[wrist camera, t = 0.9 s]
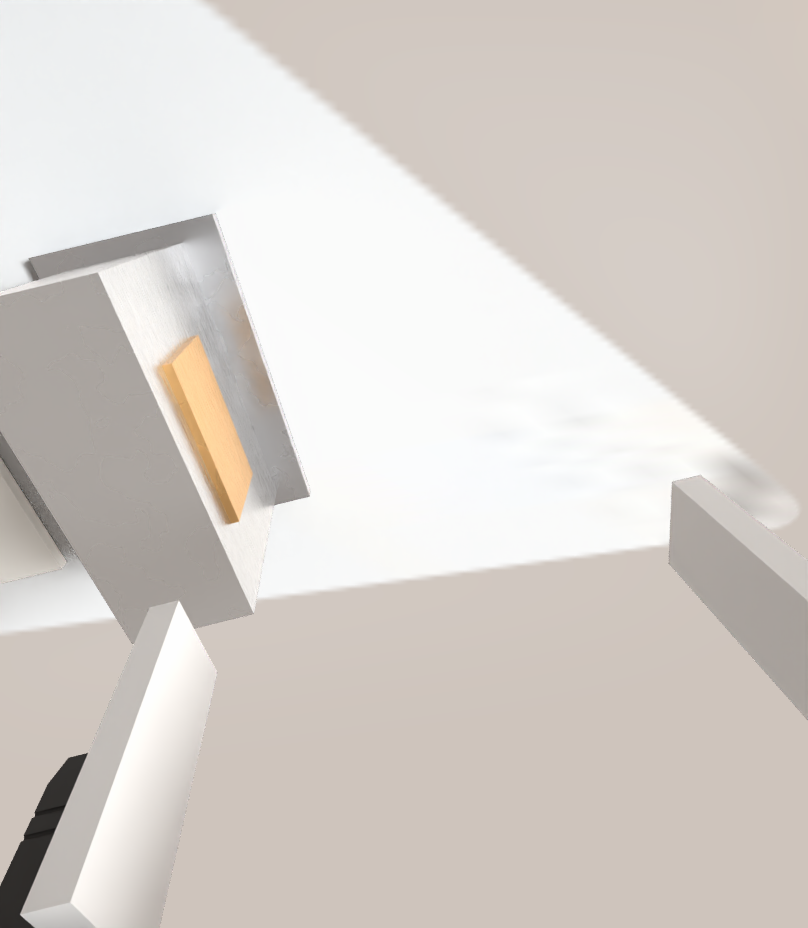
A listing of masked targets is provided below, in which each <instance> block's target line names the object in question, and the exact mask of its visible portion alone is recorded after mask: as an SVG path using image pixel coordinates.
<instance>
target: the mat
mask: <svg viewBox="0 0 808 928" xmlns="http://www.w3.org/2000/svg"><path fill="white" fill-rule="evenodd" d="M66 562H67V561H66V560H65V558H64V556H63V555H62V553H61V552H60V550H59V549H58V547H57V545H56V544H55V542H54V541H53V539H52V538H51V536H50V534H49V533H48V531H47V530H46V528H45V527H44V525H43V523H42V522H41V520H40V519H39V517H38V516H37V514H36V512H35V511H34V509H33V508H32V506H31V505H30V503H29V501H28V500H27V498H26V497H25V495H24V494H23V492H22V490H21V489H20V487H19V486H18V484H17V483H16V481H15V479H14V478H13V476H12V475H11V473H10V472H9V470H8V468H7V467H6V465H5V464H4V462H3V460H2V459H1V457H0V584H2V583H6V582H11V581H15V580H19V579H23V578H27V577H31V576H35V575H39V574H43V573H47V572H51V571H55V570H59V569H62V568H63V567H64V565H65V564H66Z"/></svg>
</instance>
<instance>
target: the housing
mask: <svg viewBox="0 0 808 928" xmlns="http://www.w3.org/2000/svg"><path fill="white" fill-rule="evenodd" d="M29 260H30V262H31V264H32V266H33V268H34V270H35V272H36V274H37V276H38V278H39V280H36V281H33V282H30V283H26V284H23V285H20V286H17V287H13V288H10V289H7V290H3V291H0V432H1V433H2V435H3V437H4V438H5V440H6V441H7V443H8V445H9V446H10V448H11V449H12V451H13V453H14V454H15V456H16V458H17V459H18V461H19V462H20V464H21V466H22V467H23V469H24V470H25V472H26V474H27V475H28V477H29V478H30V480H31V482H32V483H33V485H34V487H35V488H36V490H37V491H38V493H39V495H40V496H41V498H42V499H43V501H44V503H45V504H46V506H47V508H48V509H49V511H50V512H51V514H52V516H53V517H54V519H55V520H56V522H57V524H58V525H59V527H60V529H61V530H62V532H63V533H64V535H65V537H66V538H67V540H68V541H69V543H70V545H71V546H72V548H73V549H74V551H75V553H76V554H77V556H78V558H79V559H80V561H81V562H82V564H83V566H84V567H85V569H86V570H87V572H88V574H89V575H90V577H91V579H92V580H93V582H94V583H95V585H96V587H97V588H98V590H99V591H100V593H101V595H102V596H103V598H104V599H105V601H106V603H107V604H108V606H109V608H110V609H111V611H112V612H113V614H114V616H115V617H116V619H117V620H118V622H119V624H120V625H121V627H122V629H123V630H124V632H125V633H126V635H127V637H128V638H129V640H130V641H131V643H132V644H134V643H135V641H136V638H137V636H138V634H139V631H140V629H141V627H142V624H143V622H144V620H145V617H146V615H147V612H148V610H149V608H150V607H153V606H157V605H161V604H166V603H170V602H174V601H178V600H179V602H180V604H181V605H182V607H183V609H184V611H185V613H186V615H187V617H188V618H189V620H190V622H191V624H192V626H193V628H194V629H195V628H198V627H202V626H207V625H211V624H215V623H219V622H223V621H227V620H231V619H235V618H239V617H243V616H247V615H251V614H254V610H255V605H256V600H257V594H258V589H259V584H260V578H261V573H262V567H263V562H264V557H265V551H266V546H267V541H268V535H269V530H270V524H271V519H272V514H273V508H274V505H277V504H281V503H285V502H289V501H293V500H297V499H301V498H305V497H309V496H310V487H309V484H308V481H307V478H306V475H305V473H304V470H303V467H302V464H301V461H300V458H299V455H298V452H297V449H296V446H295V443H294V440H293V438H292V435H291V432H290V429H289V426H288V423H287V420H286V417H285V414H284V411H283V408H282V405H281V402H280V400H279V397H278V394H277V391H276V388H275V385H274V382H273V379H272V376H271V373H270V370H269V367H268V364H267V362H266V359H265V356H264V353H263V350H262V347H261V344H260V341H259V338H258V335H257V332H256V329H255V326H254V324H253V321H252V318H251V315H250V312H249V309H248V306H247V303H246V300H245V297H244V294H243V291H242V289H241V286H240V283H239V280H238V277H237V274H236V271H235V268H234V265H233V262H232V259H231V256H230V253H229V251H228V248H227V245H226V242H225V239H224V236H223V233H222V230H221V227H220V224H219V221H218V218H217V215H216V213H215V214H211V215H206V216H202V217H198V218H194V219H190V220H186V221H181V222H177V223H173V224H169V225H165V226H161V227H157V228H152V229H148V230H144V231H140V232H136V233H132V234H128V235H123V236H119V237H115V238H111V239H107V240H103V241H99V242H94V243H90V244H86V245H82V246H78V247H74V248H69V249H65V250H61V251H57V252H53V253H49V254H45V255H40V256H36V257H32V258H29Z"/></svg>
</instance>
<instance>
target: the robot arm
mask: <svg viewBox="0 0 808 928" xmlns="http://www.w3.org/2000/svg"><path fill="white" fill-rule="evenodd" d="M669 564H670V566H671V567H672V568H673V569H674V570H675V571H676V572H677V573H678V575H679V576H680V577H681V578H682V579H683V580H684V581H685V583H686V584H687V585H688V586H689V587H690V588H691V589H692V590H693V591H694V593H695V594H696V595H697V596H698V597H699V598H700V599H701V600H702V602H703V603H704V604H705V605H706V606H707V607H708V608H709V609H710V611H711V612H712V613H713V614H714V615H715V616H716V617H717V619H718V620H719V621H720V622H721V623H722V624H723V625H724V626H725V628H726V629H727V630H728V631H729V632H730V633H731V634H732V636H733V637H734V638H735V639H736V640H737V641H738V642H739V643H740V645H741V646H742V647H743V648H744V649H745V650H746V651H747V652H748V653H749V655H750V656H751V657H752V658H753V659H754V660H755V661H756V663H757V664H758V665H759V666H760V667H761V668H762V669H763V670H764V672H765V673H766V674H767V675H768V676H769V677H770V678H771V679H772V681H773V682H774V683H775V684H776V685H777V686H778V687H779V688H780V690H781V691H782V692H783V693H784V694H785V695H786V696H787V697H788V699H789V700H790V701H791V702H792V703H793V704H794V705H795V707H796V708H797V709H798V710H799V711H800V712H801V713H802V714H803V715H804V717H805V718H806V719H807V720H808V560H807V559H806V558H805V557H804V556H802V555H801V554H800V553H798V552H797V551H796V550H795V549H793V548H792V547H791V546H789V545H788V544H787V543H786V542H785V541H783V540H782V539H781V538H780V537H778V536H777V535H776V534H774V533H773V532H772V531H771V530H769V529H768V528H767V527H766V526H764V525H763V524H762V523H761V522H759V521H758V520H757V519H756V518H754V517H753V516H752V515H750V514H749V513H748V512H747V511H745V510H744V509H743V508H742V507H740V506H739V505H738V504H737V503H735V502H734V501H733V500H732V499H730V498H729V497H728V496H726V495H725V494H724V493H723V492H721V491H720V490H719V489H718V488H716V487H715V486H714V485H713V484H711V483H710V482H709V481H708V480H706V479H705V478H704V477H702V476H701V475H698V476H694V477H690V478H686V479H682V480H677V481H673V482H672V496H671V519H670V542H669ZM216 677H217V671H216V669H215V667H214V665H213V664H212V662H211V660H210V658H209V656H208V654H207V652H206V650H205V648H204V647H203V645H202V643H201V641H200V639H199V637H198V635H197V633H196V632H195V630H194V628H193V626H192V624H191V622H190V620H189V618H188V617H187V615H186V613H185V611H184V609H183V607H182V605H181V604H180V602H179V600H178V601H174V602H170V603H166V604H161V605H157V606H153V607H150V608H149V610H148V612H147V615H146V617H145V620H144V622H143V624H142V627H141V629H140V631H139V634H138V636H137V638H136V641H135V643H134V646H133V648H132V650H131V653H130V655H129V657H128V660H127V662H126V665H125V667H124V670H123V672H122V674H121V676H120V679H119V681H118V684H117V686H116V688H115V691H114V693H113V695H112V698H111V700H110V703H109V705H108V707H107V710H106V712H105V714H104V717H103V719H102V721H101V724H100V726H99V729H98V731H97V733H96V736H95V738H94V740H93V743H92V745H91V747H90V750H89V752H88V753H87V754H83V755H78V756H74V757H70V758H68V759H67V761H66V762H65V763H64V764H63V766H62V767H61V768H60V770H59V771H58V772H57V773H56V775H55V776H54V777H53V778H52V780H51V781H50V782H49V784H48V785H47V787H46V789H45V791H44V794H43V796H42V798H41V800H40V802H39V804H38V806H37V809H36V811H35V817H34V818H32V819H31V821H30V823H29V826H28V828H27V830H26V832H25V834H24V841H22V842H21V843H20V845H19V847H18V850H17V851H16V853H15V856H14V858H13V860H12V862H11V864H10V866H9V869H8V871H7V873H6V875H5V877H4V879H3V881H2V883H1V886H0V928H160V923H161V919H162V914H163V910H164V905H165V901H166V896H167V892H168V888H169V884H170V879H171V875H172V870H173V866H174V862H175V857H176V853H177V849H178V844H179V839H180V835H181V831H182V826H183V822H184V818H185V813H186V809H187V804H188V800H189V796H190V791H191V787H192V783H193V778H194V774H195V769H196V765H197V760H198V756H199V752H200V748H201V743H202V739H203V734H204V730H205V726H206V721H207V717H208V712H209V708H210V703H211V699H212V695H213V690H214V686H215V682H216Z"/></svg>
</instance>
